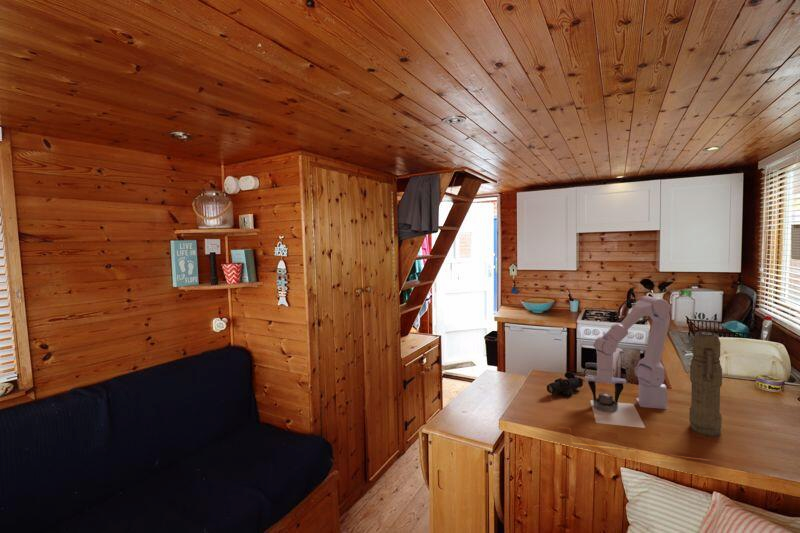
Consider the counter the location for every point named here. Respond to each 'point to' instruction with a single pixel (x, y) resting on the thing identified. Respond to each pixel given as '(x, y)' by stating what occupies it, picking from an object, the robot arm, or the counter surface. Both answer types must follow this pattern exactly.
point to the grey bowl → (605, 406)
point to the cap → (605, 399)
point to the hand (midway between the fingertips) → (605, 400)
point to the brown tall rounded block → (706, 385)
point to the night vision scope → (565, 384)
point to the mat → (619, 416)
